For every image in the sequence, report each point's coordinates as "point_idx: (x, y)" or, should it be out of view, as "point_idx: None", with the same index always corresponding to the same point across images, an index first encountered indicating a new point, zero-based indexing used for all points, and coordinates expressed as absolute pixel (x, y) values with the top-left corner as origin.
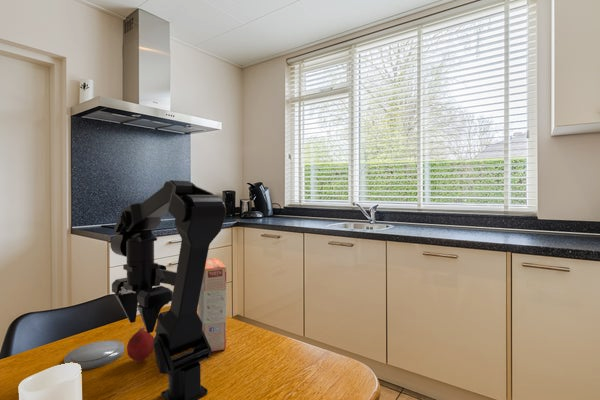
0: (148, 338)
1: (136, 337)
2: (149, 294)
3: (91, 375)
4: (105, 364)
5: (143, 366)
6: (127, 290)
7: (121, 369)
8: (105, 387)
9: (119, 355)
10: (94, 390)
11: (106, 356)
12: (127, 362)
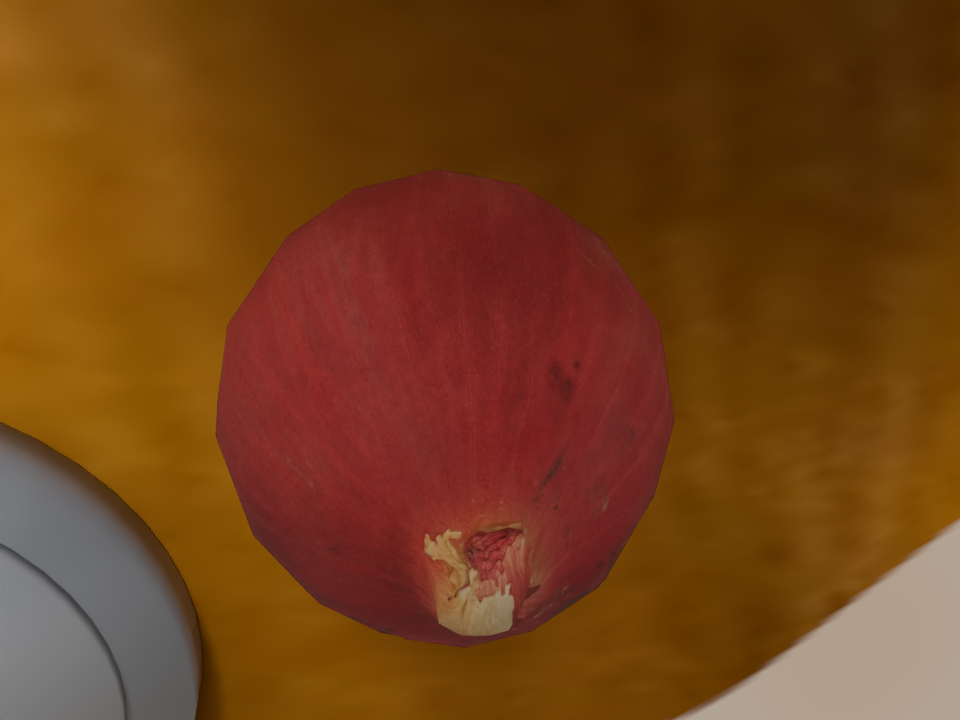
0: (642, 407)
1: (557, 612)
2: None
3: (348, 711)
4: (189, 605)
5: None
6: None
7: None
8: (674, 645)
9: (74, 480)
10: (648, 707)
11: (98, 635)
12: None
